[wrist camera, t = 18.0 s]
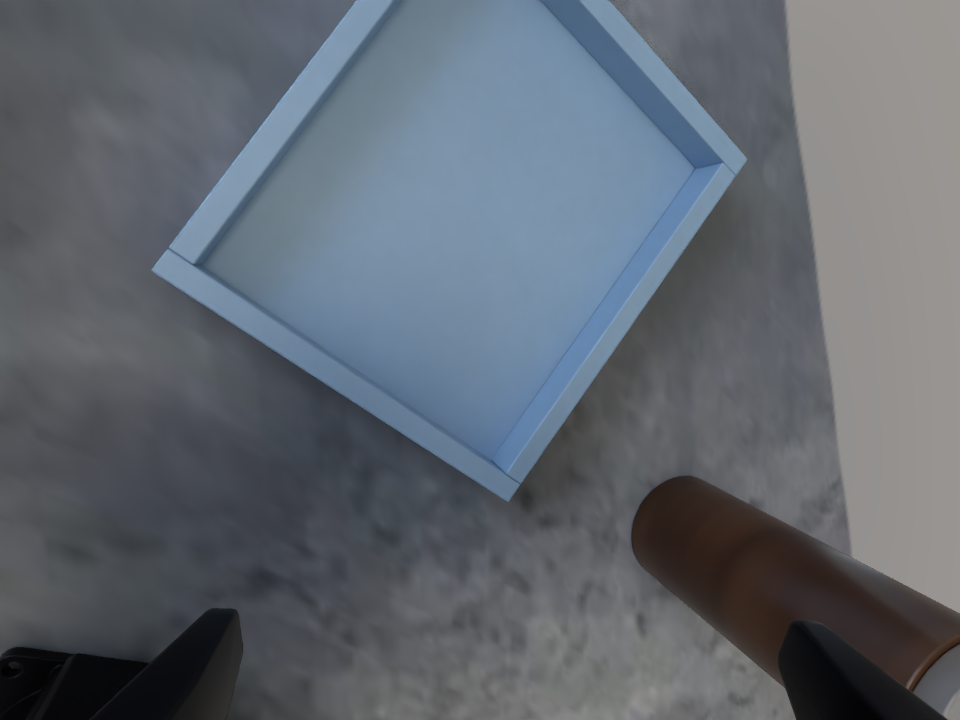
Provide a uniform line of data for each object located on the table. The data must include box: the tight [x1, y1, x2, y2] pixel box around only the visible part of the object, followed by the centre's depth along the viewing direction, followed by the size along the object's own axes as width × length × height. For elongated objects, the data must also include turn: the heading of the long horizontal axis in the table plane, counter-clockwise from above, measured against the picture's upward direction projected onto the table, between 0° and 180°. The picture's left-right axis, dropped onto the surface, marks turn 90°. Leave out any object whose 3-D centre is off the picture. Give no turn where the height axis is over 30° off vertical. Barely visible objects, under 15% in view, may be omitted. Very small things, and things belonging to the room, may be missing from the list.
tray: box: [152, 0, 747, 502], centre depth 20 cm, size 16×14×2 cm
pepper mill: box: [632, 476, 960, 720], centre depth 21 cm, size 5×5×12 cm
